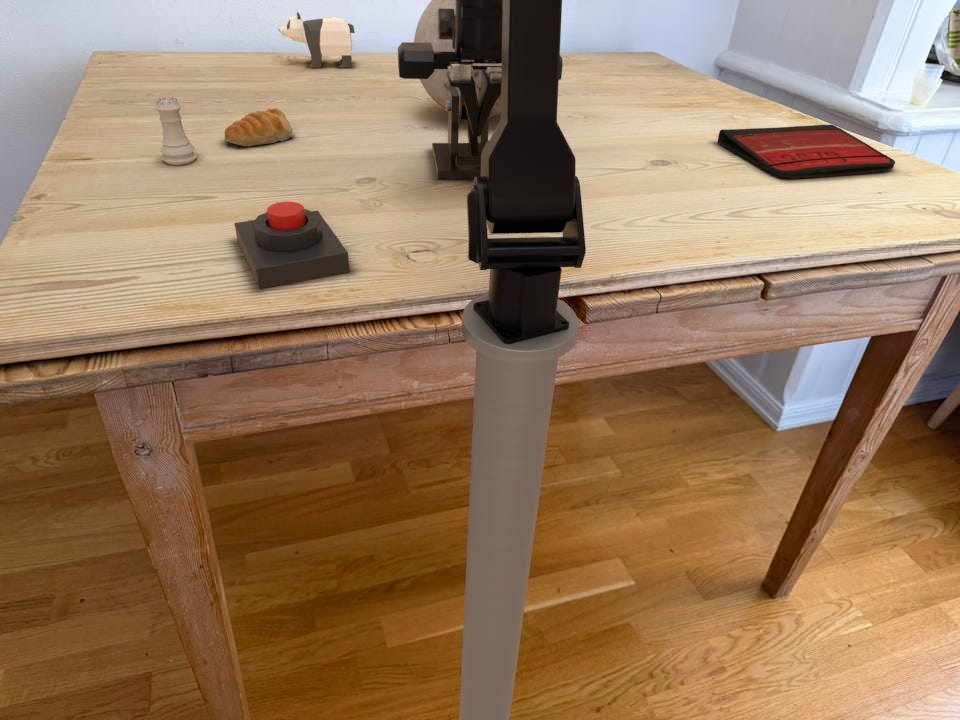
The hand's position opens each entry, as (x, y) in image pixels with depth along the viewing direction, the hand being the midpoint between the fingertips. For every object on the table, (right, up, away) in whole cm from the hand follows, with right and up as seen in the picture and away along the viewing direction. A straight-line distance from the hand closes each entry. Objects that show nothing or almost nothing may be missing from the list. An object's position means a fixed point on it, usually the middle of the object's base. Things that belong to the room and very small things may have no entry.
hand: (476, 135), depth 84 cm
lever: (-1, +1, +5) cm, 6 cm away
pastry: (-32, +5, +16) cm, 36 cm away
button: (-19, -14, -15) cm, 28 cm away
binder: (+50, +3, +20) cm, 54 cm away
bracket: (-1, 0, +11) cm, 11 cm away
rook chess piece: (-40, -1, +8) cm, 41 cm away
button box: (-19, -17, -13) cm, 29 cm away
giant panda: (-31, +32, +54) cm, 70 cm away
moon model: (-1, +13, +30) cm, 32 cm away
